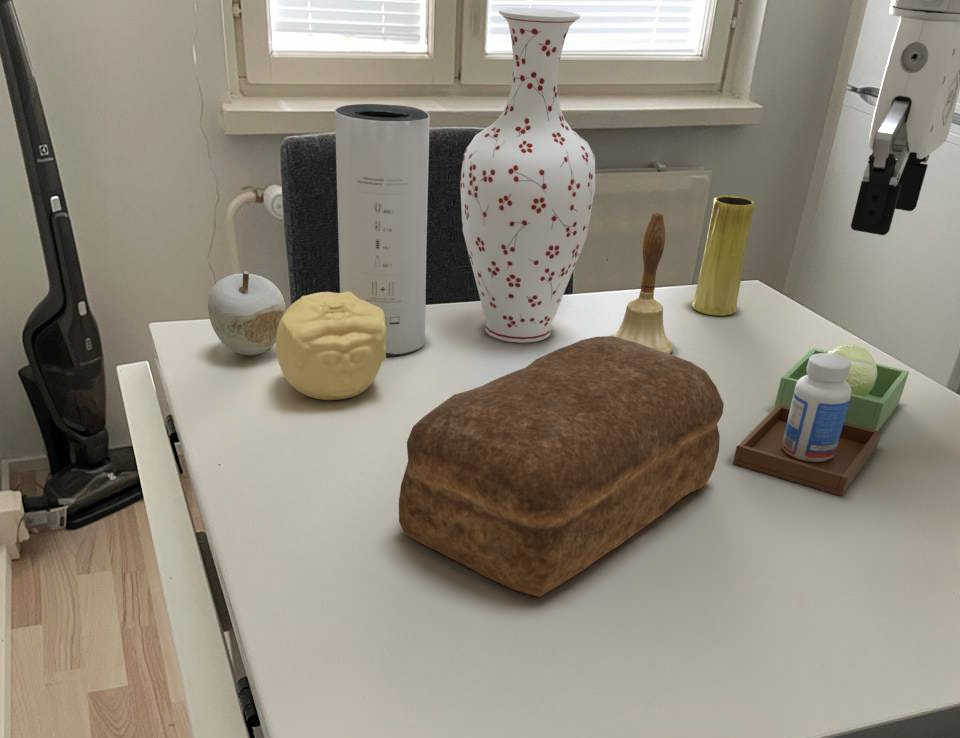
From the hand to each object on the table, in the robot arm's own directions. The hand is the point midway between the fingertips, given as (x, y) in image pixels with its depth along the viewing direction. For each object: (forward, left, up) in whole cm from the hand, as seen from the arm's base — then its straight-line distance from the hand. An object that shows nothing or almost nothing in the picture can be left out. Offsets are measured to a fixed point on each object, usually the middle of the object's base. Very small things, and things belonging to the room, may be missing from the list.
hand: (883, 219), depth 90 cm
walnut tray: (+1, +2, -23) cm, 23 cm away
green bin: (+2, -12, -23) cm, 26 cm away
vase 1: (+43, -10, -23) cm, 50 cm away
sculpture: (+50, +19, -23) cm, 58 cm away
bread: (+16, +27, -23) cm, 39 cm away
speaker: (+54, +4, -23) cm, 59 cm away
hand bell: (+28, -15, -23) cm, 39 cm away
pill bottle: (+1, +2, -23) cm, 23 cm away
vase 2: (+26, -35, -23) cm, 49 cm away
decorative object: (+64, +17, -23) cm, 70 cm away
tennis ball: (+2, -12, -23) cm, 26 cm away
